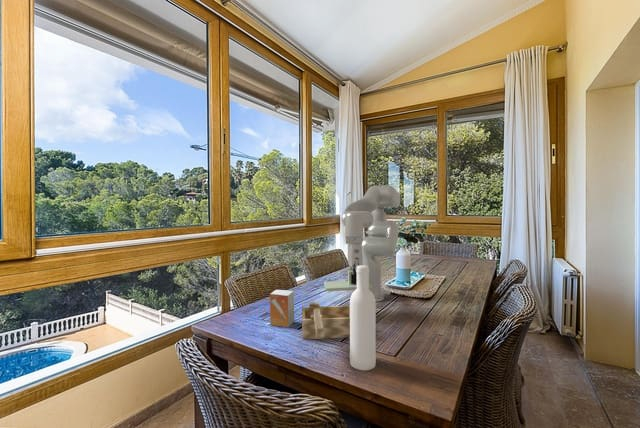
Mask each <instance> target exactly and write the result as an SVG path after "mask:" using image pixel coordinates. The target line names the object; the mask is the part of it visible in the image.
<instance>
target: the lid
mask: <svg viewBox="0 0 640 428" xmlns="http://www.w3.org/2000/svg"><path fill="white" fill-rule="evenodd" d="M351 274H352V270H350V269H349V270H347V280H336V281H335V280H334V281H333V280H332V281H323V286H324V289H325V291H326V292H341V291H355V290H356V289H357V284H352V283H351ZM369 289H373V286H372V285H371V284H370V283H369Z"/></svg>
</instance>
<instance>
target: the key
mask: <svg viewBox="0 0 640 428" xmlns="http://www.w3.org/2000/svg"><path fill="white" fill-rule="evenodd" d="M314 322H315V329H316V335H317V339H318V338H322V339H325V338H324V328H323V324H322V319H321V314H320V309H314ZM317 339H316V340H317ZM318 340H319V339H318Z"/></svg>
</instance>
